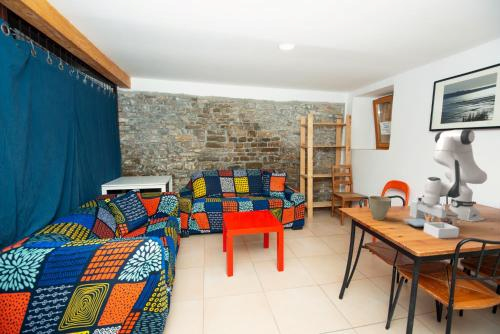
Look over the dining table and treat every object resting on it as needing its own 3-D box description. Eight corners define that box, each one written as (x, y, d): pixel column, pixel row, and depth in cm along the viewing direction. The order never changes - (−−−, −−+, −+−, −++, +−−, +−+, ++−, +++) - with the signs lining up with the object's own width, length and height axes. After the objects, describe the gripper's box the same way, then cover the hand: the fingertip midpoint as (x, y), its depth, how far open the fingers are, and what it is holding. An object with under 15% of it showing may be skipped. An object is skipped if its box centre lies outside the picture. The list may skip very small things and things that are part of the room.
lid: (423, 220, 164) (424, 214, 164) (437, 226, 154) (438, 219, 153) (402, 221, 162) (403, 215, 161) (415, 227, 151) (416, 220, 151)
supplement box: (425, 219, 173) (427, 202, 171) (415, 218, 173) (417, 202, 171) (418, 215, 180) (419, 200, 179) (409, 215, 180) (410, 200, 179)
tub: (442, 230, 150) (443, 222, 149) (458, 237, 140) (459, 228, 139) (423, 231, 148) (424, 222, 148) (438, 238, 138) (439, 228, 138)
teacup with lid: (436, 224, 162) (438, 208, 161) (443, 222, 166) (445, 206, 165) (457, 230, 151) (459, 213, 150) (464, 228, 155) (466, 211, 154)
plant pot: (364, 214, 181) (366, 195, 179) (385, 216, 178) (386, 196, 176) (370, 221, 166) (372, 200, 165) (393, 223, 163) (394, 201, 162)
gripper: (450, 204, 147) (447, 225, 148) (422, 196, 167) (420, 215, 169) (441, 205, 146) (439, 225, 148) (415, 197, 166) (413, 215, 168)
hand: (429, 220), depth 158 cm, fingers closed on lid, 2 cm apart
